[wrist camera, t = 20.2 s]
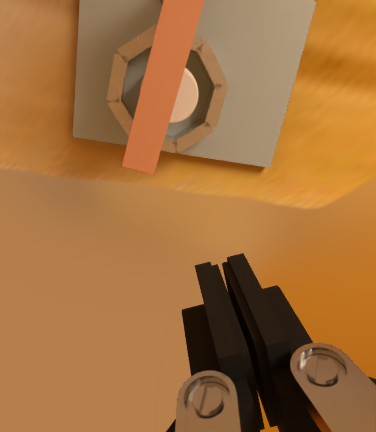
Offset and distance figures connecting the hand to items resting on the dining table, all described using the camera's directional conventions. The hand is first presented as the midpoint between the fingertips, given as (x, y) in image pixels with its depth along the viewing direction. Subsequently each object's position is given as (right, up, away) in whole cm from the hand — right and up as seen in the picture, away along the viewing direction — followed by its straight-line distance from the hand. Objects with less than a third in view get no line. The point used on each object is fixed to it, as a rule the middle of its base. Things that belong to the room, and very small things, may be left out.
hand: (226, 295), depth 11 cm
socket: (-3, +15, +22) cm, 26 cm away
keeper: (-3, +14, +12) cm, 18 cm away
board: (-1, +17, +22) cm, 28 cm away
